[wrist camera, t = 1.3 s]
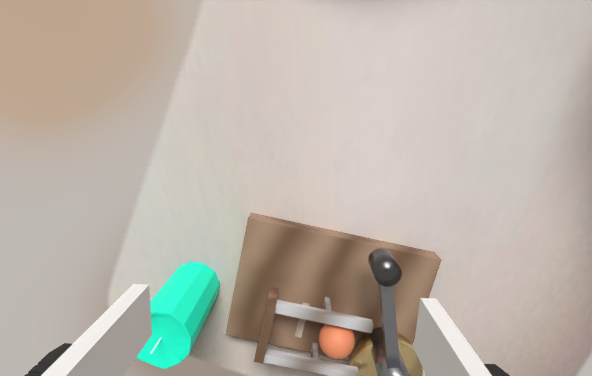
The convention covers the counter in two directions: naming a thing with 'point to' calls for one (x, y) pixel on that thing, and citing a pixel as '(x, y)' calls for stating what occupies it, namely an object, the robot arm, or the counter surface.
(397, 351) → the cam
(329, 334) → the ball
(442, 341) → the robot arm
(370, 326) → the stand
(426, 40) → the counter surface
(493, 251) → the counter surface
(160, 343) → the candle
